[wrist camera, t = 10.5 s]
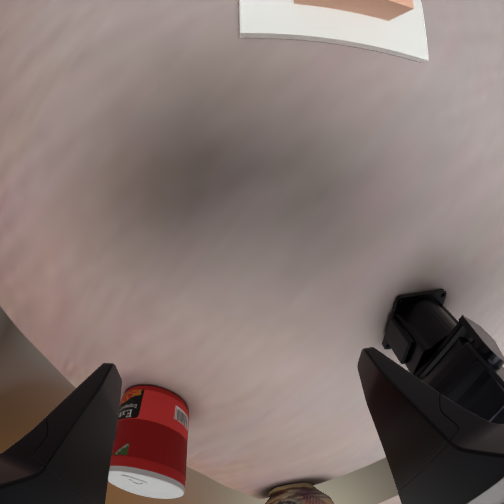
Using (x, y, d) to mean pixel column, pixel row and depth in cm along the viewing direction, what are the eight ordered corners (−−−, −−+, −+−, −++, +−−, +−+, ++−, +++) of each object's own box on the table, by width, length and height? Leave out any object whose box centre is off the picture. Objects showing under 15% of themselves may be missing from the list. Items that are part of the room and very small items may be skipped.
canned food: (131, 373, 27) (108, 464, 17) (200, 399, 29) (197, 488, 19) (117, 406, 29) (98, 482, 19) (176, 427, 31) (171, 503, 22)
